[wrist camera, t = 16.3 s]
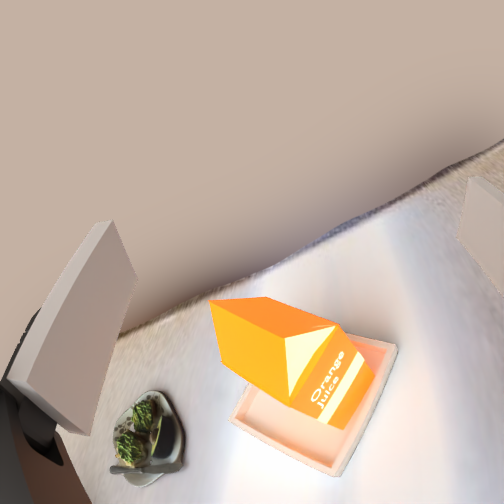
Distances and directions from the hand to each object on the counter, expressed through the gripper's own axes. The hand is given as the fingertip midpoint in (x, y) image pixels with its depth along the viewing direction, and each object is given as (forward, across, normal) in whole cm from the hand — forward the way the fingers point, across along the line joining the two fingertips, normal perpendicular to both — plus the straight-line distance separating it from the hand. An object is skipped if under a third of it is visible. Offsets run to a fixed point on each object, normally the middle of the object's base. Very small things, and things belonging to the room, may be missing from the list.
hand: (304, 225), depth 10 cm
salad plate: (+8, -25, -43) cm, 51 cm away
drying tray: (+10, +2, -31) cm, 32 cm away
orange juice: (+9, +4, -29) cm, 31 cm away
